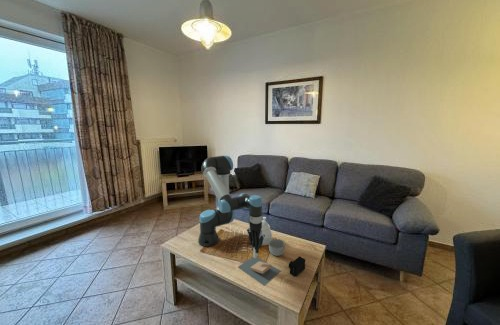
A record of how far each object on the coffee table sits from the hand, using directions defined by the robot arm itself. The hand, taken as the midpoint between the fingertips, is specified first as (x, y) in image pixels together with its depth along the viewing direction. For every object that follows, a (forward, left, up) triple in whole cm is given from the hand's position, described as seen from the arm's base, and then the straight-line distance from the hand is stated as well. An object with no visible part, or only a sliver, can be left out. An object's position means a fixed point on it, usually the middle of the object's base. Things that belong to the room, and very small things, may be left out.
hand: (255, 256), depth 129 cm
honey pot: (-16, +27, -8) cm, 32 cm away
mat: (+3, 0, -8) cm, 8 cm away
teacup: (0, +22, -8) cm, 23 cm away
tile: (-1, 0, -6) cm, 6 cm away
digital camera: (+20, +15, -8) cm, 26 cm away
